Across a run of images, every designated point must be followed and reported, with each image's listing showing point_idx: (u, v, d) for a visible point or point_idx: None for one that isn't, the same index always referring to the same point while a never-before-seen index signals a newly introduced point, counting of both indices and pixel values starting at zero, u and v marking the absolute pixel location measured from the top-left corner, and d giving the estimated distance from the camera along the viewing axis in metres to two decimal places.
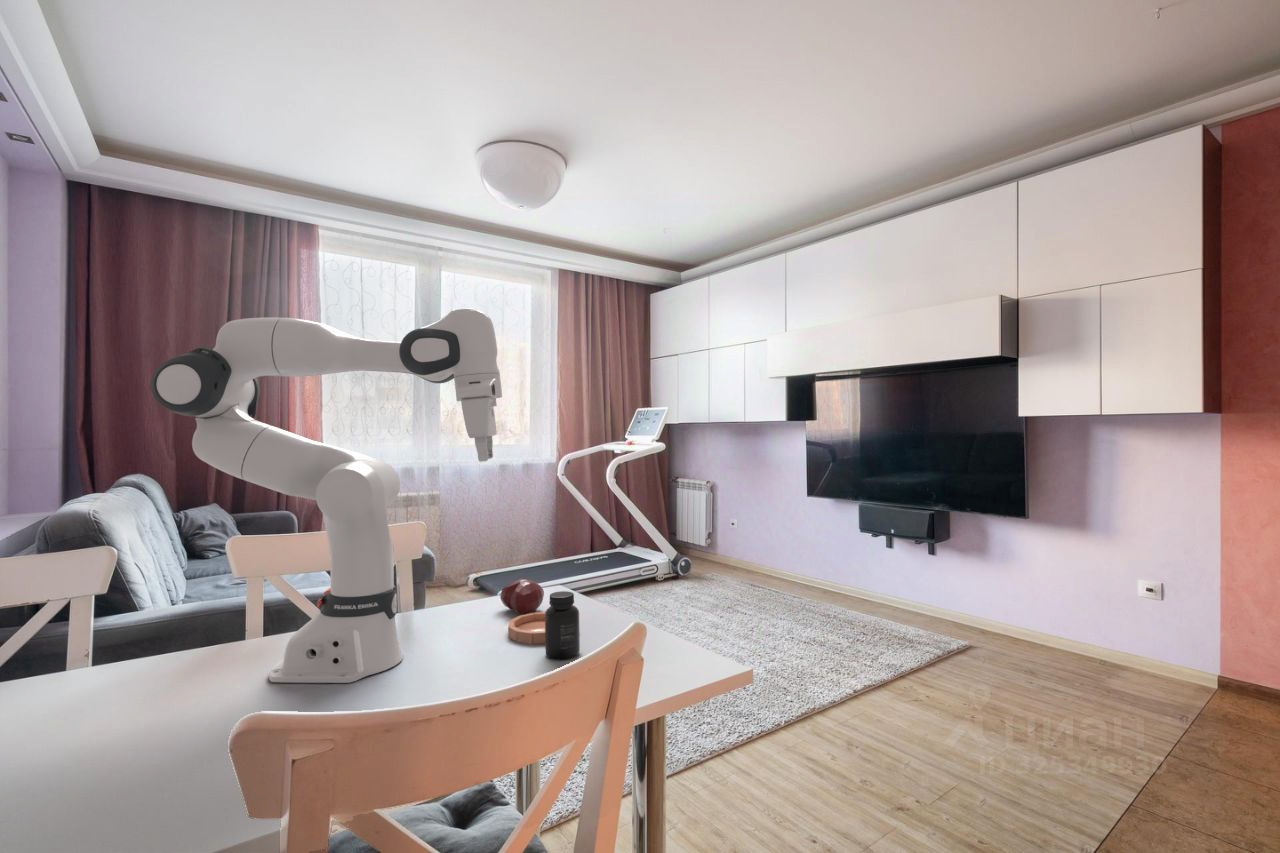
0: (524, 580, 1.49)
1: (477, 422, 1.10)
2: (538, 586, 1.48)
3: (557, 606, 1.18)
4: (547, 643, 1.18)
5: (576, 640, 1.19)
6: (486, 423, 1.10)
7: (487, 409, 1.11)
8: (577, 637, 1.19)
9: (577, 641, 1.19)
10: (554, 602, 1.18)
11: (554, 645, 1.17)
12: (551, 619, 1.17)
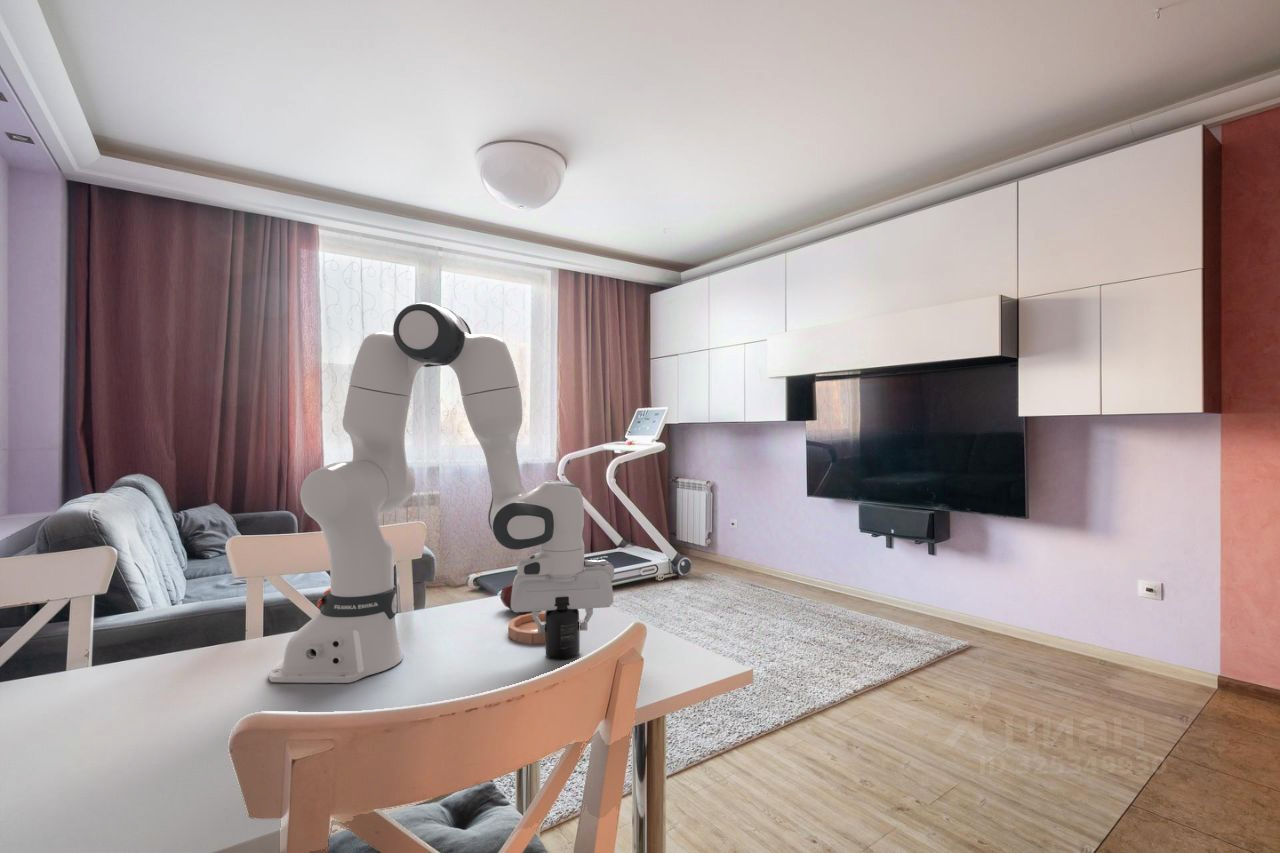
0: None
1: None
2: None
3: (557, 606, 1.18)
4: (547, 643, 1.18)
5: (576, 640, 1.19)
6: (511, 600, 1.17)
7: (513, 588, 1.17)
8: (577, 637, 1.19)
9: (577, 641, 1.19)
10: None
11: (554, 645, 1.17)
12: (551, 619, 1.17)
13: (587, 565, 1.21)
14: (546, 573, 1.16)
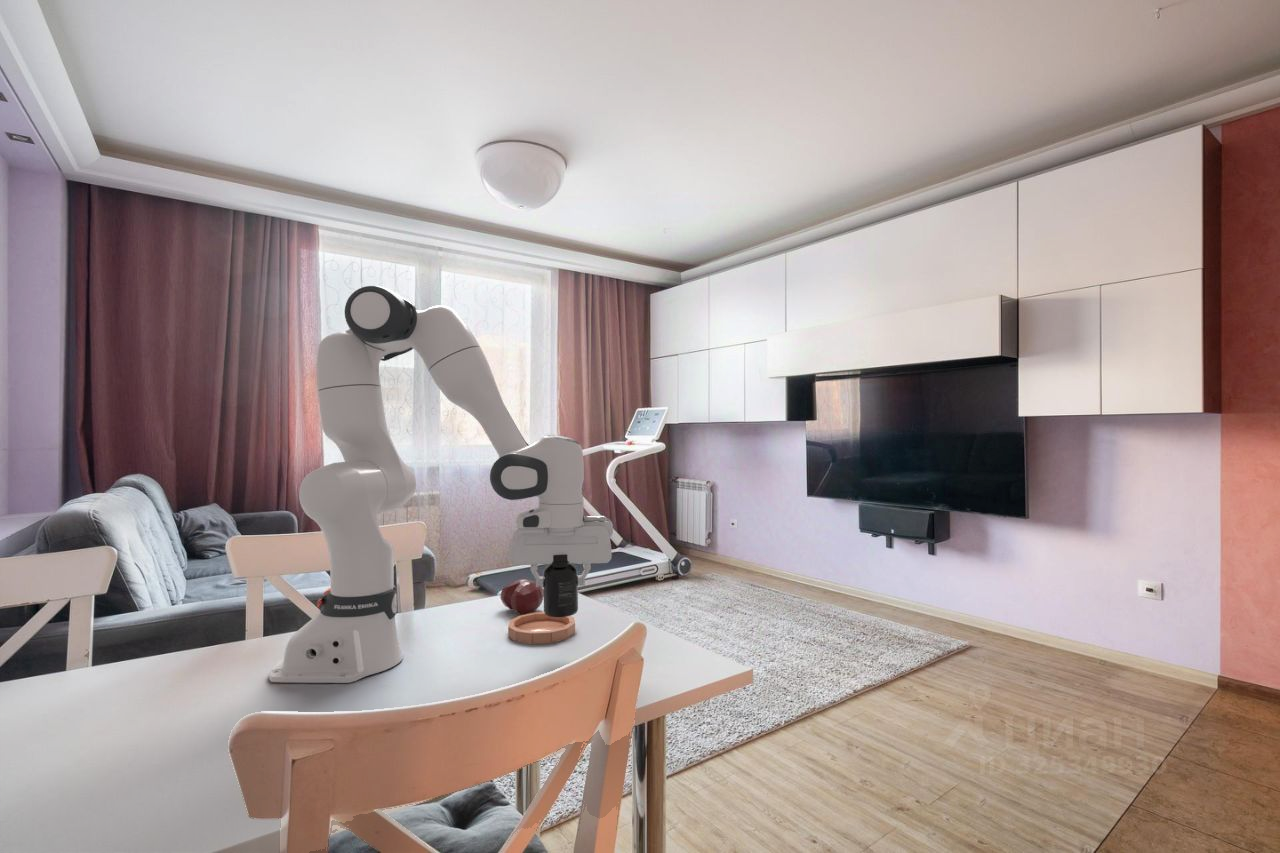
0: (524, 580, 1.49)
1: None
2: None
3: (555, 564, 1.18)
4: (545, 601, 1.18)
5: (575, 598, 1.19)
6: (509, 553, 1.17)
7: (512, 540, 1.17)
8: (575, 595, 1.19)
9: (575, 599, 1.19)
10: None
11: (552, 602, 1.17)
12: (550, 577, 1.17)
13: (586, 520, 1.21)
14: (545, 526, 1.16)
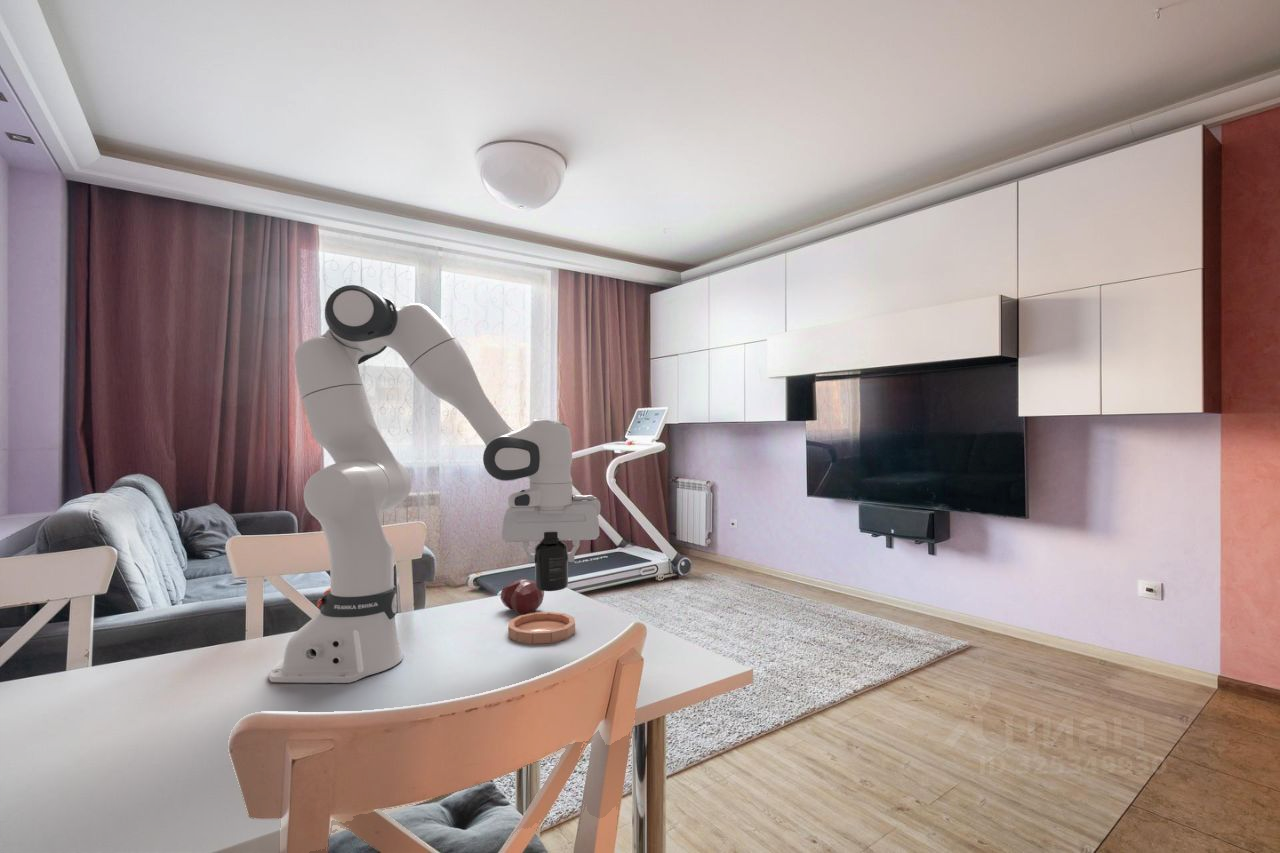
0: (524, 580, 1.49)
1: None
2: None
3: (546, 541, 1.24)
4: (537, 576, 1.25)
5: (565, 573, 1.25)
6: (502, 531, 1.23)
7: (504, 518, 1.23)
8: (565, 570, 1.25)
9: (565, 574, 1.25)
10: None
11: (543, 577, 1.23)
12: (541, 553, 1.24)
13: (575, 499, 1.27)
14: (535, 504, 1.22)
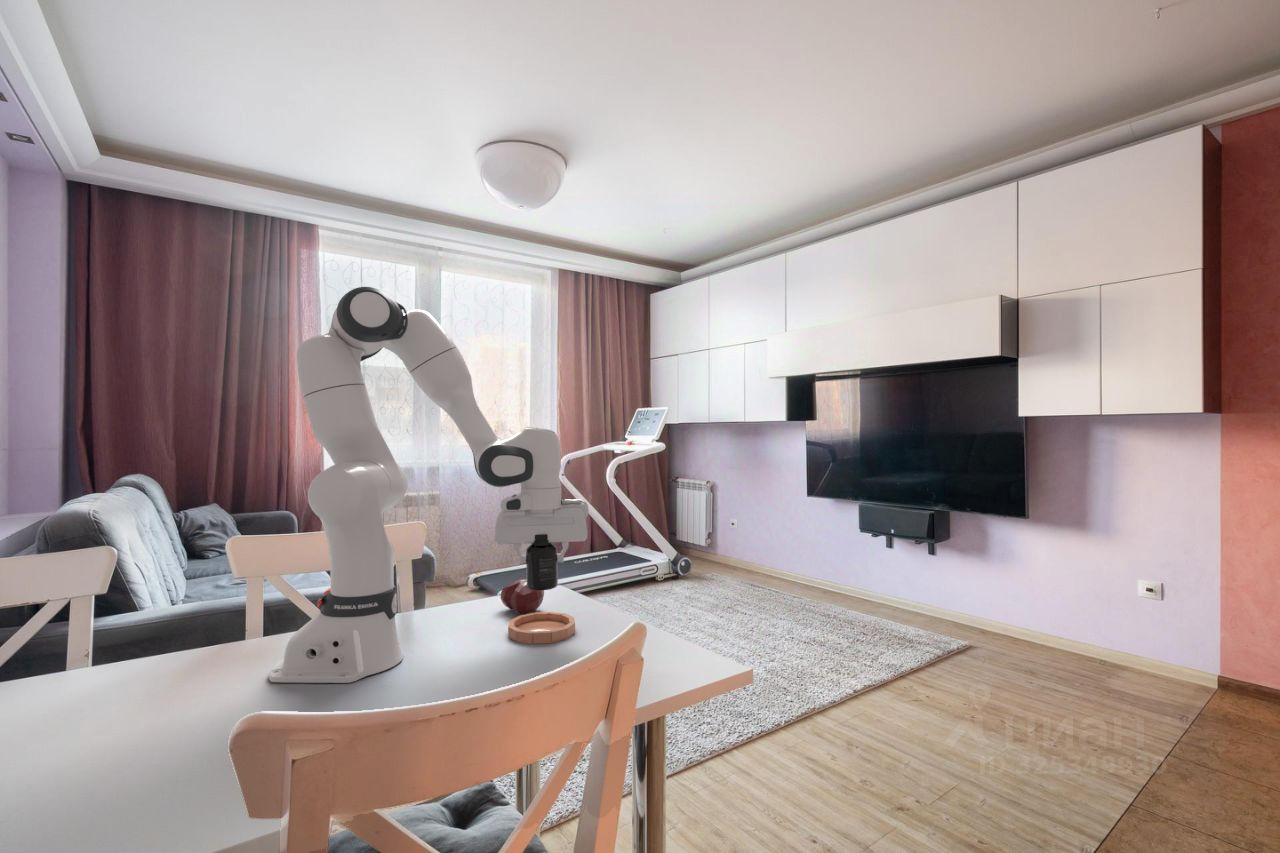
0: (524, 580, 1.49)
1: None
2: None
3: (537, 543, 1.31)
4: (528, 576, 1.31)
5: (554, 574, 1.32)
6: None
7: (497, 522, 1.30)
8: (555, 571, 1.32)
9: (555, 574, 1.32)
10: None
11: (534, 577, 1.30)
12: (532, 554, 1.31)
13: (564, 503, 1.34)
14: (526, 508, 1.29)
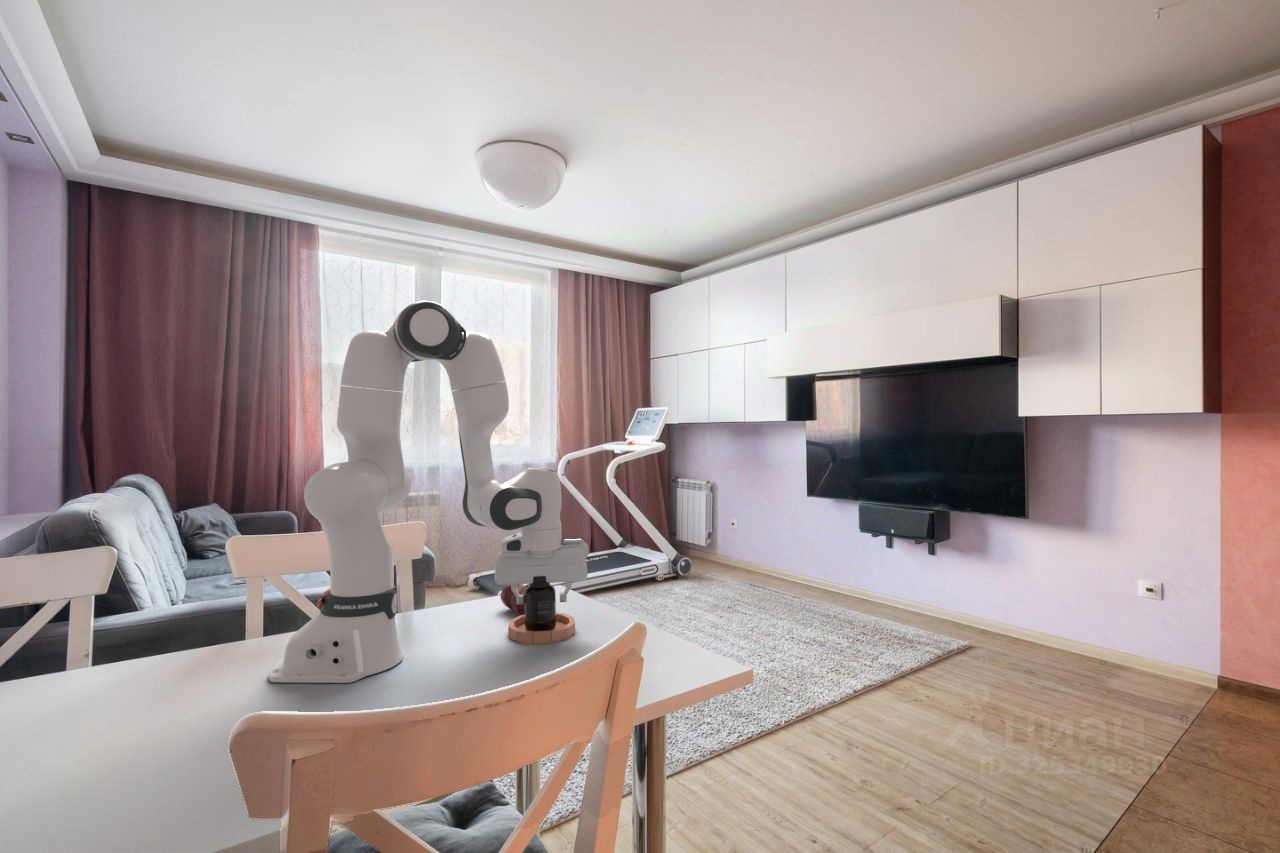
0: None
1: None
2: None
3: (535, 584, 1.31)
4: (526, 618, 1.31)
5: (553, 615, 1.32)
6: None
7: (497, 563, 1.30)
8: (553, 612, 1.32)
9: (553, 616, 1.32)
10: None
11: (532, 619, 1.30)
12: (530, 596, 1.30)
13: (564, 543, 1.34)
14: (526, 549, 1.29)
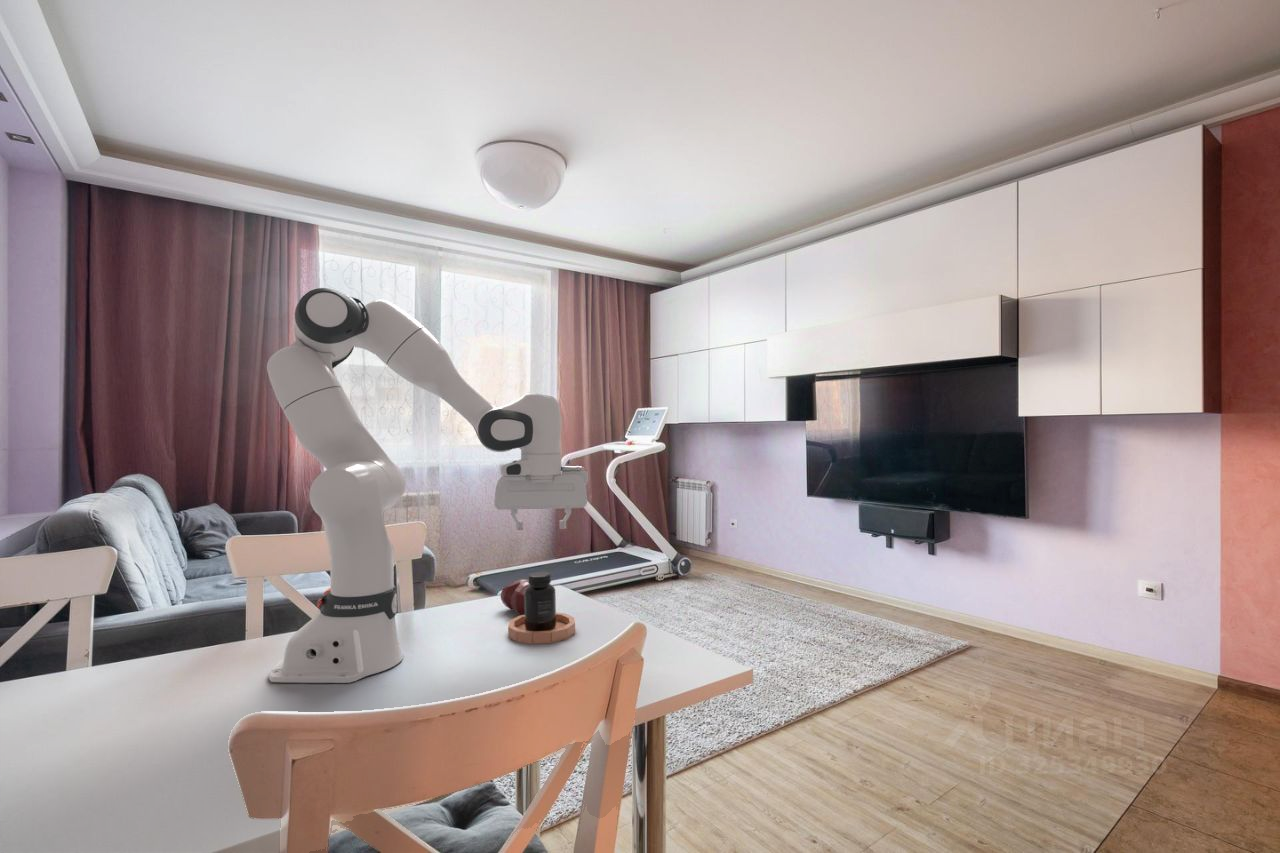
0: (524, 580, 1.49)
1: None
2: None
3: (535, 585, 1.31)
4: (526, 618, 1.31)
5: (553, 615, 1.32)
6: None
7: (497, 487, 1.30)
8: (553, 613, 1.32)
9: (553, 616, 1.32)
10: (532, 581, 1.31)
11: (532, 619, 1.30)
12: (530, 596, 1.30)
13: (564, 470, 1.34)
14: (526, 473, 1.29)
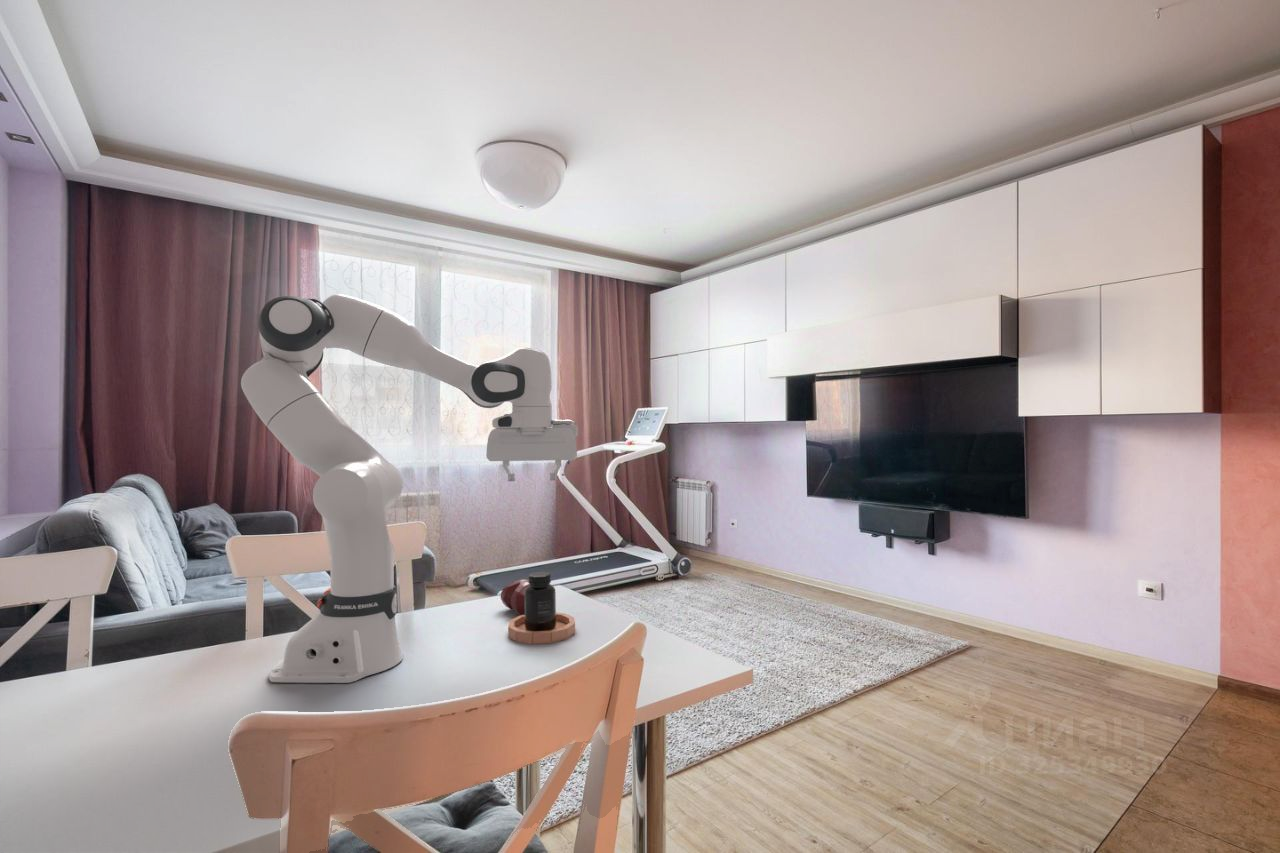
0: (524, 580, 1.49)
1: None
2: None
3: (535, 585, 1.31)
4: (526, 618, 1.31)
5: (553, 615, 1.32)
6: None
7: (488, 439, 1.33)
8: (553, 613, 1.32)
9: (553, 616, 1.32)
10: (532, 581, 1.31)
11: (532, 619, 1.30)
12: (530, 596, 1.30)
13: (554, 423, 1.38)
14: (517, 425, 1.33)
